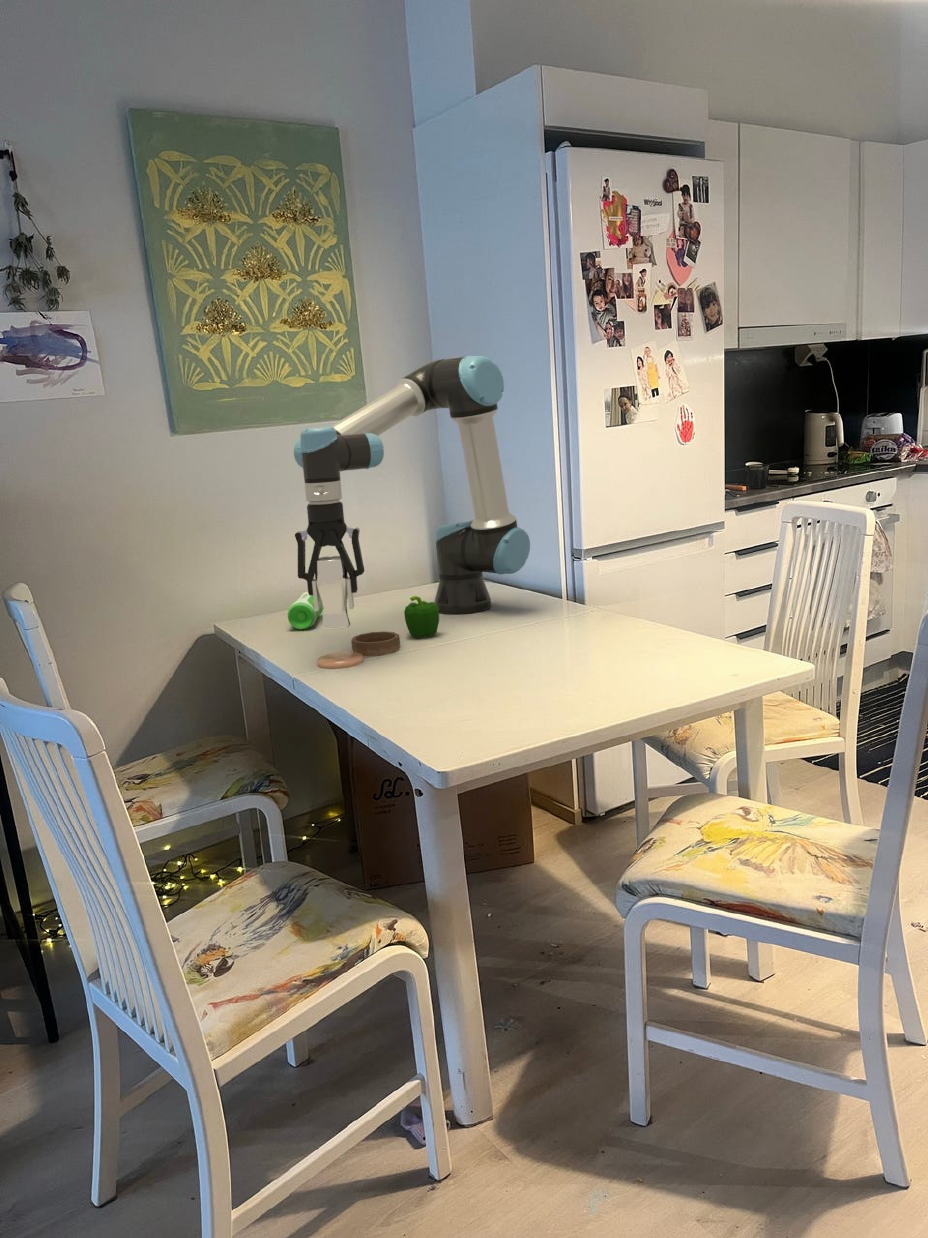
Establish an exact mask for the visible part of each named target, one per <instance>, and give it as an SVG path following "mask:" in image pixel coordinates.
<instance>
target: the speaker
mask: <svg viewBox="0 0 928 1238" xmlns="http://www.w3.org/2000/svg"><path fill="white" fill-rule="evenodd" d="M319 599H320V598H319ZM321 614H323V611H322V606H321V602H320V610H319V611H315V607H314V597H313V595H309V594H308V591H305V592H303V593H301V594H300V595H299V596H298V597H297V599H296V600H295V601H294V602H293V603H292V604H291V605H290V606H289V608H288V611H287V619H288V622H289V624H290V626H292V627H293V628H294V629H297V630H302V629H304V630H307V629H310V628H311V627H313V626H312V625H314V624H315V623H316V621H317V620H316V619H318V618H319V616H320V615H321ZM302 631H303V630H302Z"/></svg>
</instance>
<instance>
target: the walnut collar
mask: <svg viewBox="0 0 928 1238" xmlns="http://www.w3.org/2000/svg"><path fill="white" fill-rule="evenodd" d="M350 640H351V649H352V650H351V652H356V653H360V654H362V655H363V657H380V656H385V655H391V654H393V653H396V652H398V651H400V649H401V641H400V633H397V632H394V631H371V632H366V633H360V634H358V635H357V634H356V635H355V636H353V637H352V638H351V639H350Z"/></svg>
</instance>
